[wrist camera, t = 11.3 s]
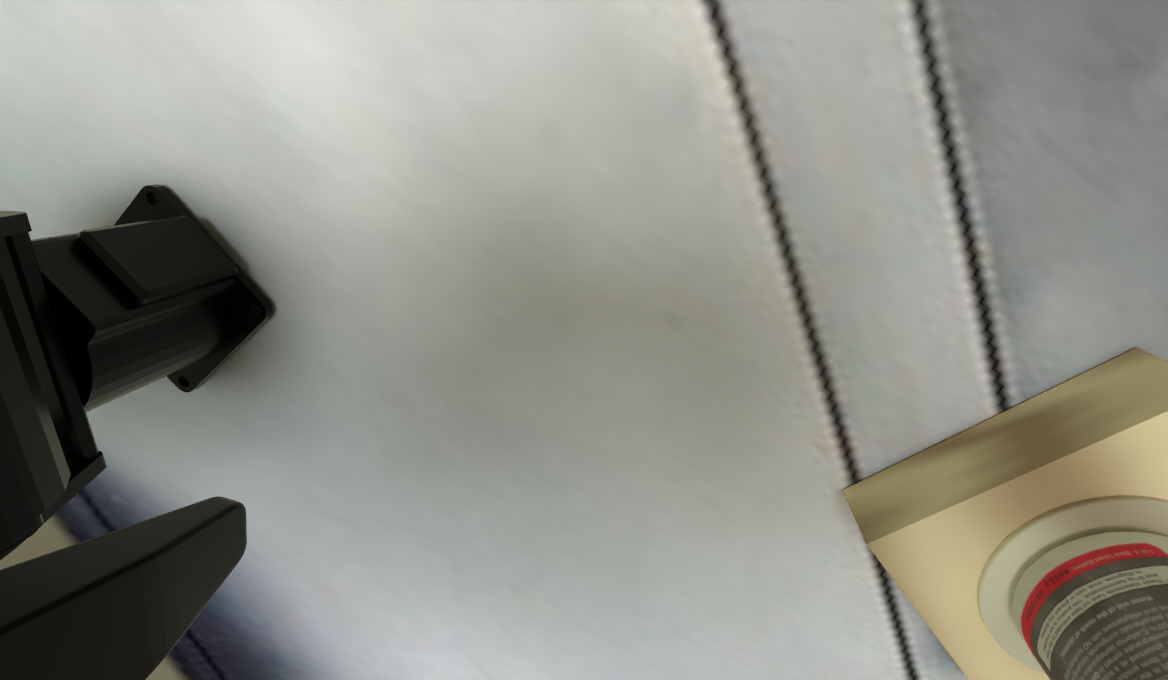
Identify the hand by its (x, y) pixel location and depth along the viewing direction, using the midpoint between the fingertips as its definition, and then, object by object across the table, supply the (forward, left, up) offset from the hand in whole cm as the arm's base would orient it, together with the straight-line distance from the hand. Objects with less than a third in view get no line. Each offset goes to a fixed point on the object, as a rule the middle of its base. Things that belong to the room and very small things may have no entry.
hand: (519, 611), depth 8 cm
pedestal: (+8, -15, -13) cm, 21 cm away
